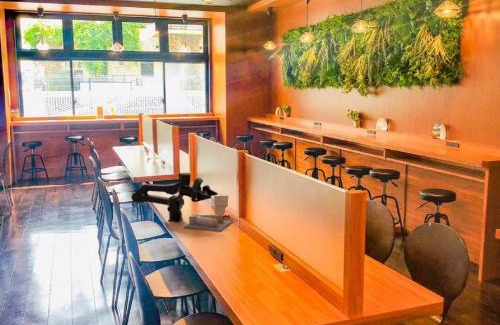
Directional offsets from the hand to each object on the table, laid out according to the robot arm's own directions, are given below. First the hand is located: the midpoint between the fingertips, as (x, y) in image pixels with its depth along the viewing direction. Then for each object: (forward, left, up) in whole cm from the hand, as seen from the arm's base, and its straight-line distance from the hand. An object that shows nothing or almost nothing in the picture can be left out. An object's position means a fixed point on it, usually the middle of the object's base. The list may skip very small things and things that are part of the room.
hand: (214, 195), depth 280 cm
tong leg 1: (-2, -7, -15) cm, 17 cm away
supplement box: (-2, +16, -17) cm, 23 cm away
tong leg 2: (-2, -1, -15) cm, 15 cm away
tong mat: (-2, -4, -16) cm, 17 cm away
